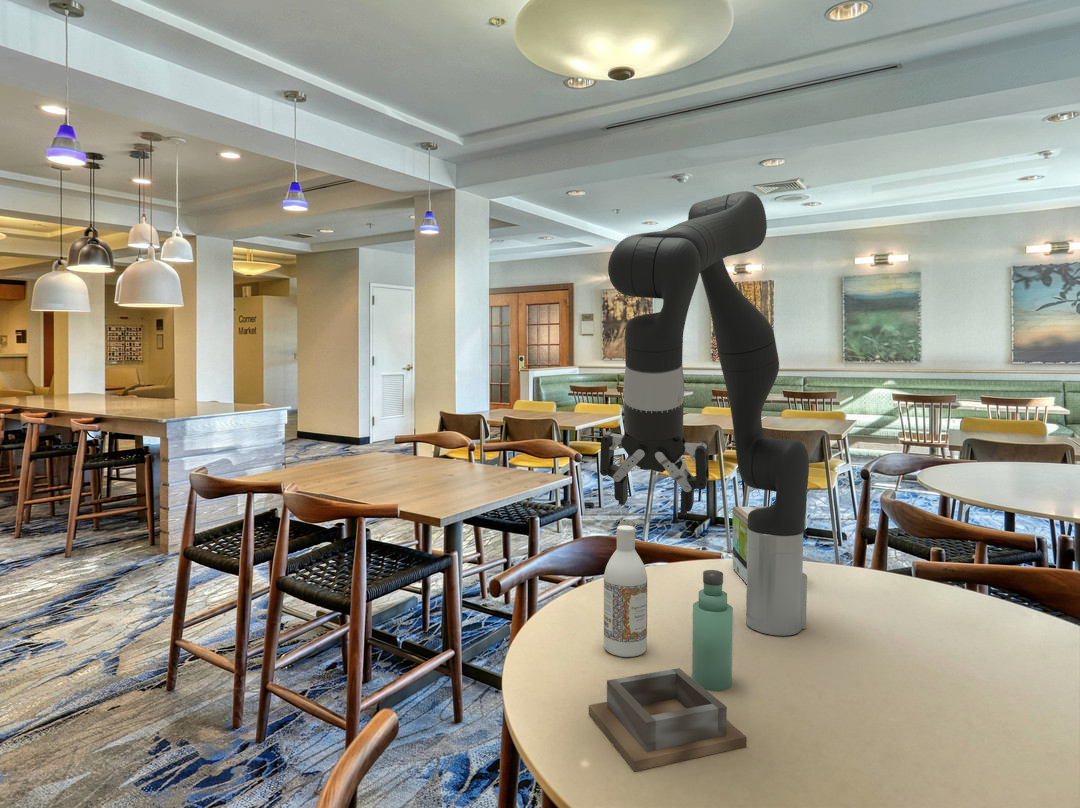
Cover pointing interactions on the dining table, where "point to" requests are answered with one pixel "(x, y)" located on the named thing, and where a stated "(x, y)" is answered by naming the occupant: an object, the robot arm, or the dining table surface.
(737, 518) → the tea box
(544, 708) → the dining table surface
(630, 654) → the bath foam
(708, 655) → the green bottle
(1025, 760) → the dining table surface
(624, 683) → the bottle stand
